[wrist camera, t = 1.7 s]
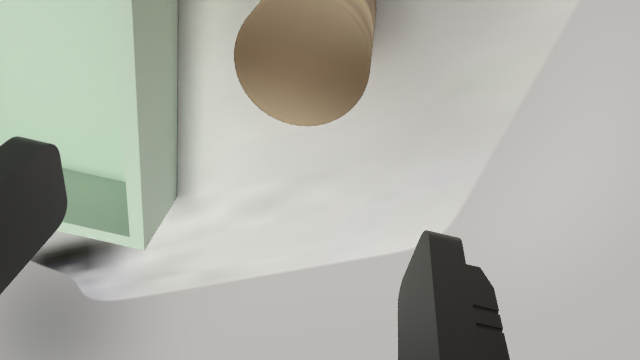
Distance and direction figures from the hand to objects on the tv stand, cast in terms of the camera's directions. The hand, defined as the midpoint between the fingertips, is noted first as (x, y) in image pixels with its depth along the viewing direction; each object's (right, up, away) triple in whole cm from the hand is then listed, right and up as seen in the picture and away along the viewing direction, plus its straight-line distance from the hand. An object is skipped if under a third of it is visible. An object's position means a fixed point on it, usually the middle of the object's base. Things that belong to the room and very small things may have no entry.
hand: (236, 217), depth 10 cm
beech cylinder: (+2, +9, +13) cm, 16 cm away
